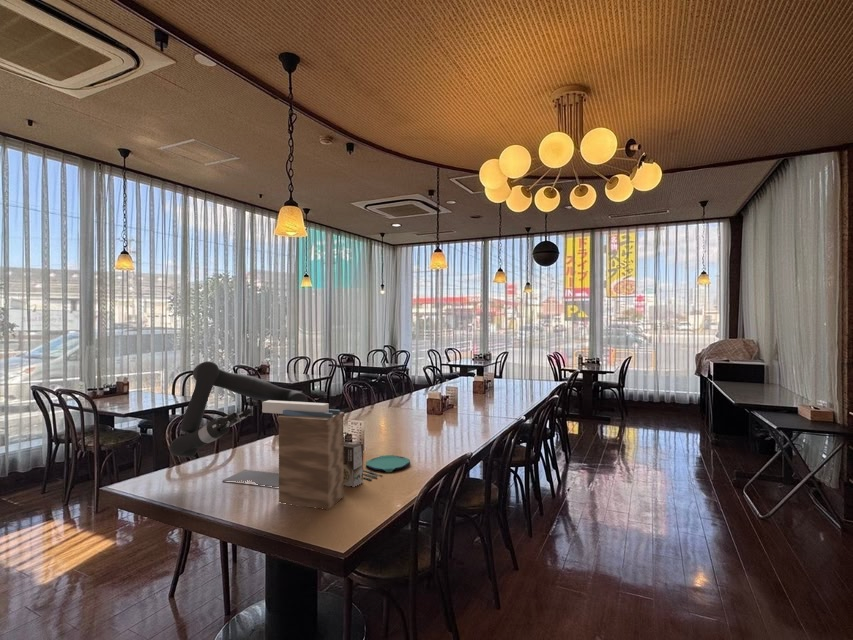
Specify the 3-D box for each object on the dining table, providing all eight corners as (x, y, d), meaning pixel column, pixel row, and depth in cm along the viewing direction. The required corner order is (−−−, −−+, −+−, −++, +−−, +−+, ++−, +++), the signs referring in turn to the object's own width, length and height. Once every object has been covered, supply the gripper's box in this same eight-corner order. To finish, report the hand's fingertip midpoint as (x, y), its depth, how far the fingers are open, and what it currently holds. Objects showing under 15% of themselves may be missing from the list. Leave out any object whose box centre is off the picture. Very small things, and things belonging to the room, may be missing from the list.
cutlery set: (418, 464, 208) (418, 459, 208) (372, 484, 185) (372, 478, 185) (387, 457, 221) (387, 452, 221) (340, 474, 197) (340, 469, 197)
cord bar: (268, 410, 174) (268, 400, 174) (328, 414, 167) (328, 403, 167) (262, 412, 170) (262, 401, 170) (323, 416, 163) (323, 405, 163)
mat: (245, 471, 199) (245, 469, 199) (304, 477, 191) (304, 475, 191) (222, 481, 186) (222, 480, 186) (285, 489, 177) (285, 487, 177)
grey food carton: (363, 482, 184) (363, 443, 184) (353, 487, 179) (353, 447, 179) (346, 479, 189) (346, 440, 189) (336, 483, 183) (336, 444, 183)
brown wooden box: (298, 490, 176) (298, 405, 176) (344, 496, 170) (344, 408, 170) (277, 504, 162) (277, 412, 162) (326, 511, 157) (326, 415, 157)
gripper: (196, 425, 172) (227, 406, 169) (222, 418, 186) (251, 400, 182) (204, 443, 171) (235, 424, 167) (229, 434, 185) (259, 417, 181)
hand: (244, 412), depth 175 cm, fingers open, 8 cm apart
